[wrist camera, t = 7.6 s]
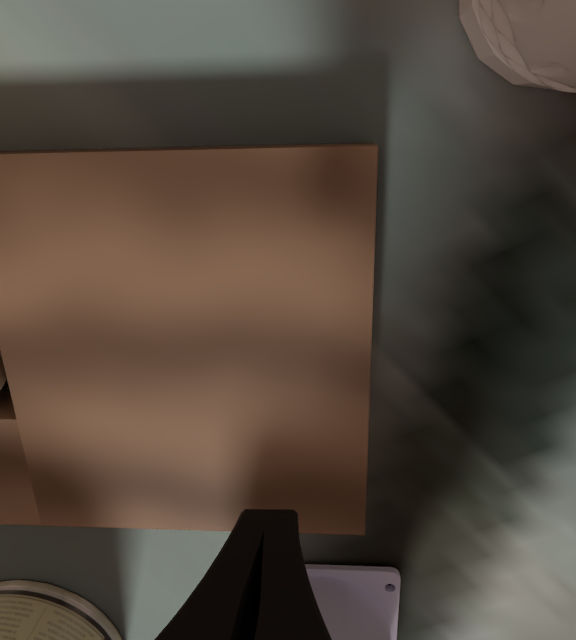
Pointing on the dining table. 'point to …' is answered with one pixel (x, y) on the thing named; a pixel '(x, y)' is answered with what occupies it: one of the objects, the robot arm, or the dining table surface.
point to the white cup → (525, 40)
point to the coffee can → (49, 614)
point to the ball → (2, 373)
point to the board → (186, 335)
